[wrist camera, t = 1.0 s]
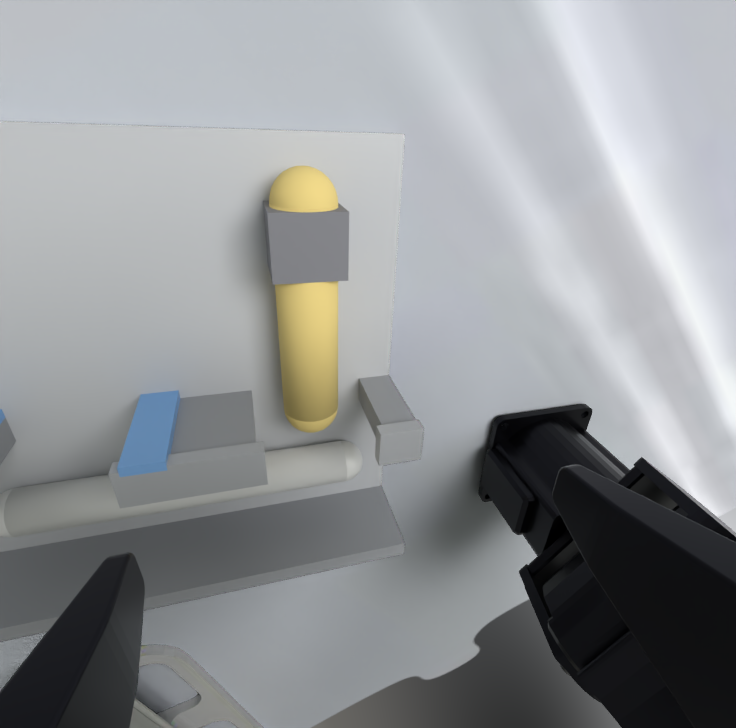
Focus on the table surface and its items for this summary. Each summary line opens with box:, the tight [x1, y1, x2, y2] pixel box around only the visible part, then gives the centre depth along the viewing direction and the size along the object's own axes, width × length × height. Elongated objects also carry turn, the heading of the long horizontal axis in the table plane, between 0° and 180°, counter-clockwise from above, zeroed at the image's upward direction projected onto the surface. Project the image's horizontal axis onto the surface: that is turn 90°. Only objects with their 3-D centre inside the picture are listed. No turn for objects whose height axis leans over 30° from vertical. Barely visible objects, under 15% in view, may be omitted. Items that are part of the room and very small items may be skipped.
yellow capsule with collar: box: [263, 166, 349, 433], centre depth 17 cm, size 11×3×2 cm, turn 178°
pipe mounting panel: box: [0, 121, 424, 642], centre depth 17 cm, size 19×18×5 cm
